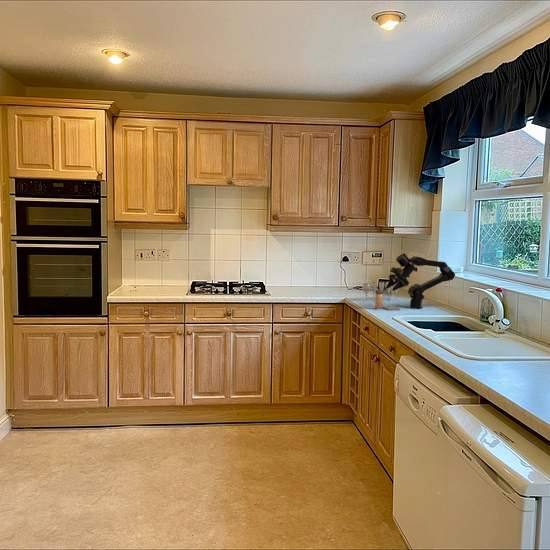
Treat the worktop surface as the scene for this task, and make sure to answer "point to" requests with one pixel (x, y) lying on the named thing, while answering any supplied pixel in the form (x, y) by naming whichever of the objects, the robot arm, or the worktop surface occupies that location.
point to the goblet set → (374, 285)
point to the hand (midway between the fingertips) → (389, 289)
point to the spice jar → (378, 299)
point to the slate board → (390, 308)
